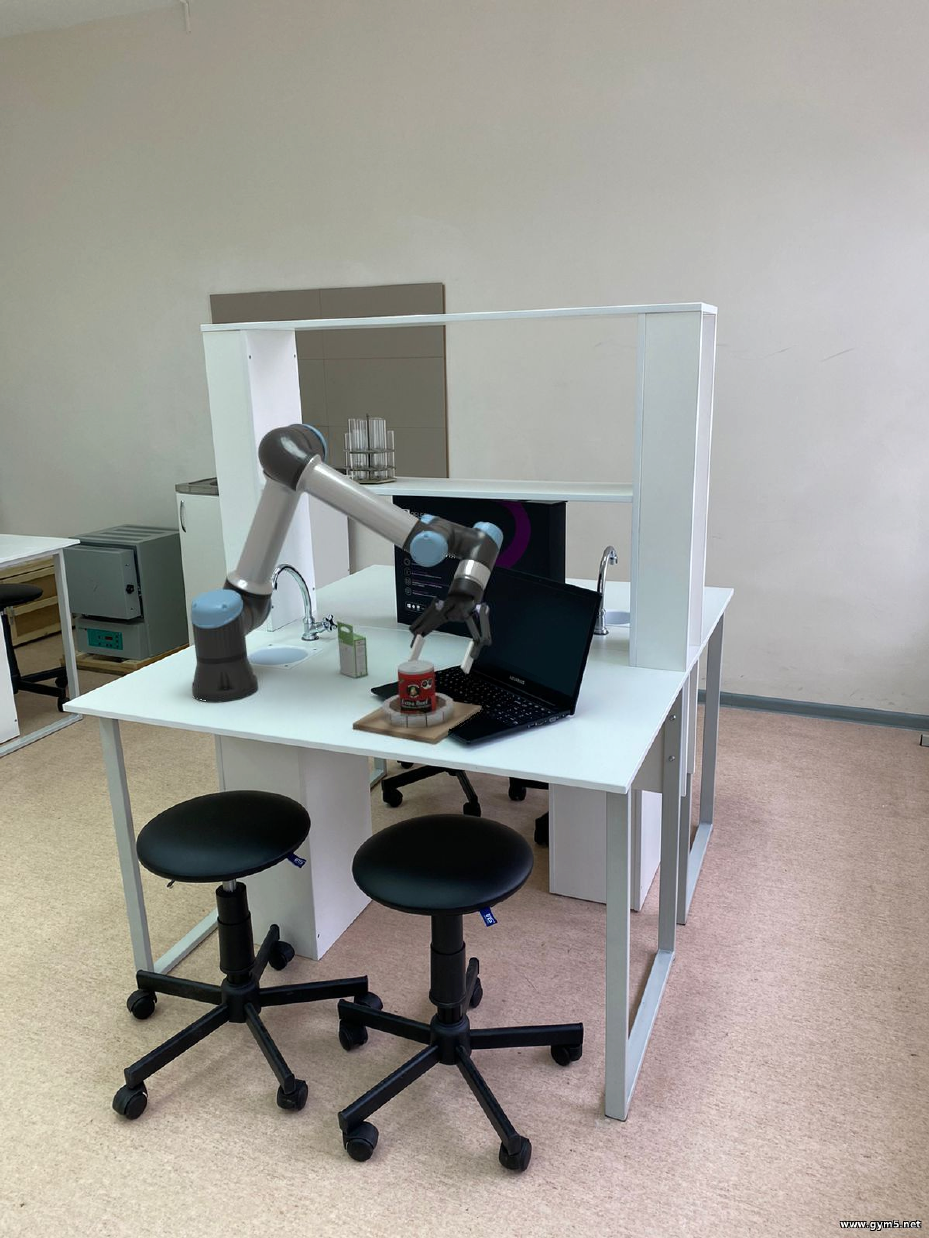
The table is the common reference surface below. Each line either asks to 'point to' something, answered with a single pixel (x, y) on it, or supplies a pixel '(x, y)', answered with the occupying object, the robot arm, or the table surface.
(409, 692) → the canned food
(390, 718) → the collar
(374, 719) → the board
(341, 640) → the ink box
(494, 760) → the table surface
